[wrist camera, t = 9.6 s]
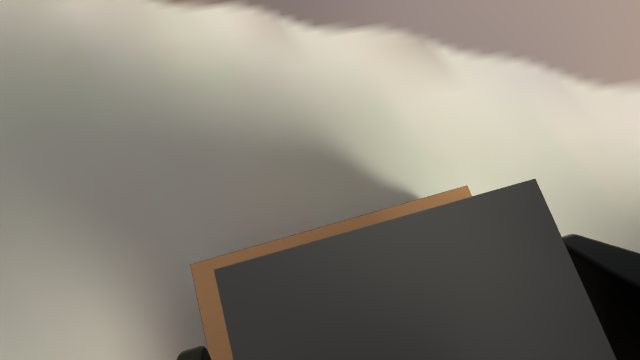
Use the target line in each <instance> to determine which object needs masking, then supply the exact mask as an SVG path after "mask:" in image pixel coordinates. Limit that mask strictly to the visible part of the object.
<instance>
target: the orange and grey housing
mask: <svg viewBox="0 0 640 360" xmlns="http://www.w3.org/2000/svg"><path fill="white" fill-rule="evenodd" d="M469 197H472V195H471V193H470V191H469V188H468V186H463V187H460V188H456V189H453V190H449V191H446V192H442V193H439V194H435V195H432V196H428V197H425V198H421V199H418V200H414V201H411V202H407V203H404V204H400V205H397V206H393V207H390V208H387V209H383V210H380V211H376V212H373V213H369V214H366V215H362V216H359V217H355V218H352V219H348V220H345V221H341V222H338V223H334V224H331V225H327V226H324V227H320V228H317V229H313V230H310V231H306V232H303V233H299V234H296V235H292V236H289V237H285V238H282V239H278V240H275V241H271V242H268V243H264V244H261V245H257V246H254V247H250V248H247V249H243V250H240V251H236V252H233V253H229V254H226V255H222V256H219V257H215V258H212V259H208V260H205V261H201V262H198V263H194V264H191V265H190V266H191V270H192V275H193V280H194V285H195V290H196V294H197V299H198V304H199V309H200V314H201V318H202V323H203V328H204V333H205V338H206V343H207V347H208V352H209V355H210V357H211V359H212V360H233V356H232V351H231V347H230V342H229V338H228V333H227V328H226V324H225V319H224V315H223V310H222V305H221V301H220V296H219V292H218V287H217V282H216V278H215V273H214V269H218V268H221V267H225V266H228V265H232V264H235V263H239V262H243V261H246V260H250V259H253V258H257V257H260V256H264V255H267V254H271V253H274V252H278V251H281V250H285V249H289V248H292V247H296V246H299V245H303V244H306V243H310V242H313V241H317V240H320V239H324V238H327V237H331V236H334V235H338V234H342V233H345V232H349V231H352V230H356V229H359V228H363V227H366V226H370V225H373V224H377V223H380V222H384V221H387V220H391V219H395V218H398V217H402V216H405V215H409V214H412V213H416V212H419V211H423V210H426V209H430V208H433V207H437V206H441V205H444V204H448V203H451V202H455V201H458V200H462V199H465V198H469Z"/></svg>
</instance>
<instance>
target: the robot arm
mask: <svg viewBox="0 0 640 360" xmlns="http://www.w3.org/2000/svg"><path fill="white" fill-rule="evenodd" d="M562 239H563V241H564V244H565V246H566V248H567V250H568V253H569V255H570V257H571V259H572V262H573V264H574V266H575V268H576V270H577V273H578V275H579V277H580V279H581V282H582V284H583V286H584V288H585V290H586V293H587V295H588V297H589V299H590V302H591V304H592V306H593V308H594V310H595V313H596V315H597V317H598V319H599V322H600V324H601V326H602V328H603V330H604V333H605V335H606V337H607V339H608V342H609V344H610V346H611V348H612V350H613V353H614V355H615V357H616V359H617V360H640V254H639V253H636V252H633V251H629V250H626V249H623V248H619V247H616V246H613V245H609V244H606V243H603V242H599V241H596V240H593V239H589V238H586V237H583V236H579V235H575V234H571V235H567V236H563V237H562ZM176 360H212V359H211V357H210V355H209V352H208V350H207V349H206V348H205V347H203V346H199V347H196V348H193V349H189V350H186V351H183V352H182V353H181V354H180V355H179V356H178V358H177V359H176Z"/></svg>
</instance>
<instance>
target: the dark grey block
mask: <svg viewBox="0 0 640 360" xmlns="http://www.w3.org/2000/svg"><path fill="white" fill-rule="evenodd" d="M214 273H215V278H216V282H217V287H218V292H219V296H220V301H221V305H222V310H223V315H224V319H225V324H226V328H227V333H228V338H229V342H230V347H231V351H232V356H233V360H617V359H616V357H615V355H614V353H613V350H612V348H611V346H610V344H609V342H608V339H607V337H606V335H605V333H604V330H603V328H602V326H601V324H600V322H599V319H598V317H597V315H596V313H595V310H594V308H593V306H592V304H591V302H590V299H589V297H588V295H587V293H586V290H585V288H584V286H583V284H582V282H581V279H580V277H579V275H578V273H577V270H576V268H575V266H574V264H573V262H572V259H571V257H570V255H569V253H568V250H567V248H566V246H565V244H564V241H563V239H562V237H561V235H560V233H559V230H558V228H557V226H556V224H555V221H554V219H553V217H552V215H551V213H550V210H549V208H548V206H547V204H546V201H545V199H544V197H543V195H542V193H541V190H540V188H539V186H538V184H537V181H536V179H532V180H529V181H525V182H522V183H518V184H515V185H511V186H508V187H504V188H501V189H497V190H494V191H490V192H486V193H483V194H479V195H476V196H472V197H469V198H465V199H462V200H458V201H455V202H451V203H448V204H444V205H441V206H437V207H433V208H430V209H426V210H423V211H419V212H416V213H412V214H409V215H405V216H402V217H398V218H395V219H391V220H387V221H384V222H380V223H377V224H373V225H370V226H366V227H363V228H359V229H356V230H352V231H349V232H345V233H342V234H338V235H334V236H331V237H327V238H324V239H320V240H317V241H313V242H310V243H306V244H303V245H299V246H296V247H292V248H289V249H285V250H281V251H278V252H274V253H271V254H267V255H264V256H260V257H257V258H253V259H250V260H246V261H243V262H239V263H235V264H232V265H228V266H225V267H221V268H218V269H214Z"/></svg>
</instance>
